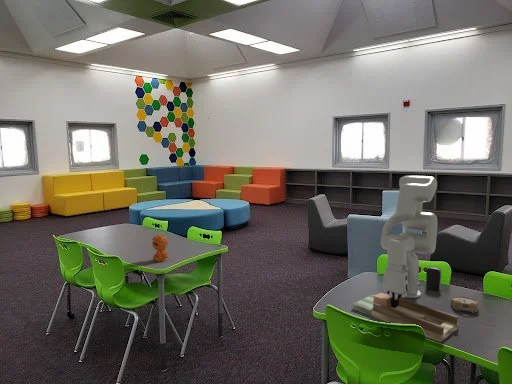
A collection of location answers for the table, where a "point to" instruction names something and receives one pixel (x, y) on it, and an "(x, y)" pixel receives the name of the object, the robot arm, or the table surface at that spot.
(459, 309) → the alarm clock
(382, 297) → the block
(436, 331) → the track
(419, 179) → the robot arm
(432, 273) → the battery charger
